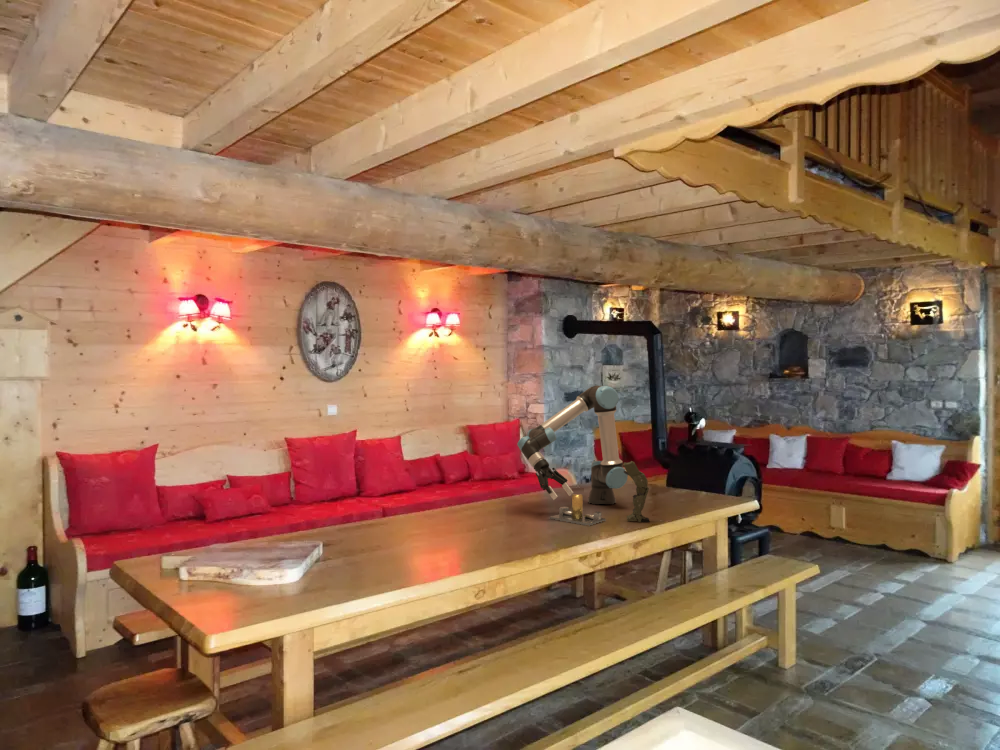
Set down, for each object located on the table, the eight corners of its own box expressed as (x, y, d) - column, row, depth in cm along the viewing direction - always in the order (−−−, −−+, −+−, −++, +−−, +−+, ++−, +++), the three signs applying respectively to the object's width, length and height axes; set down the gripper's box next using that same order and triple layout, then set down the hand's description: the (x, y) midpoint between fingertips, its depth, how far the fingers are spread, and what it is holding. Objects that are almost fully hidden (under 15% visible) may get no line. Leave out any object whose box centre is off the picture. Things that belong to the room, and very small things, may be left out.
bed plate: (549, 519, 346) (549, 509, 346) (566, 514, 357) (566, 505, 357) (589, 526, 331) (589, 516, 331) (605, 521, 342) (605, 511, 342)
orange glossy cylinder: (577, 516, 347) (577, 493, 347) (584, 517, 344) (584, 495, 344) (570, 517, 344) (570, 494, 344) (577, 519, 340) (577, 496, 340)
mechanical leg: (656, 517, 345) (641, 457, 346) (657, 521, 338) (642, 459, 339) (628, 524, 347) (613, 464, 347) (629, 527, 339) (614, 466, 340)
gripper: (549, 465, 370) (573, 497, 360) (519, 470, 350) (544, 504, 341) (557, 455, 366) (582, 488, 357) (528, 460, 347) (553, 494, 337)
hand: (563, 496), depth 349 cm, fingers open, 13 cm apart
